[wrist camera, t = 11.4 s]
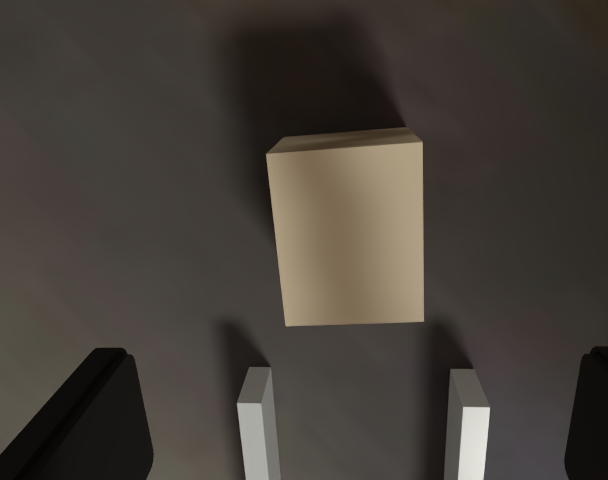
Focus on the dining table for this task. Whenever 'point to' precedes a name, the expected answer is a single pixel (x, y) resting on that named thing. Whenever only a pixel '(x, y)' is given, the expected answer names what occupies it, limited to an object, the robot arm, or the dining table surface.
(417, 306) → the maple block
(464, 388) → the channel
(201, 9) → the dining table surface
